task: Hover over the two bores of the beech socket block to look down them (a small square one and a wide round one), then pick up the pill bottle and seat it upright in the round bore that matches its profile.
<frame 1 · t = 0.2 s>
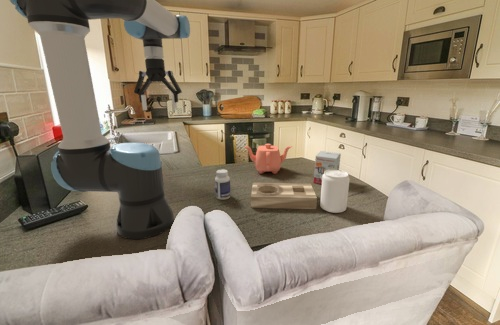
hand: (160, 110, 113), 28 cm above the countertop, fingers open, 13 cm apart
ink box: (325, 181, 105), on the countertop
socket block: (282, 200, 88), on the countertop
beverage can: (332, 208, 82), on the countertop
pill bottle: (223, 197, 91), on the countertop
teapot: (267, 170, 119), on the countertop
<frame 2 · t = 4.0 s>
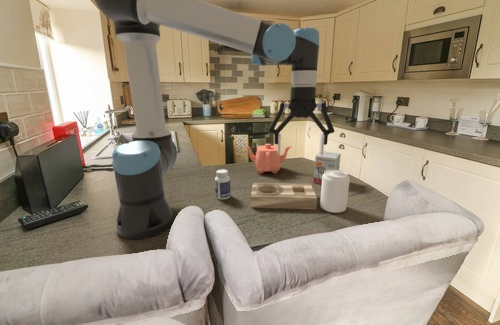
hand: (299, 154, 83), 17 cm above the countertop, fingers open, 13 cm apart
nothing on the countertop moved.
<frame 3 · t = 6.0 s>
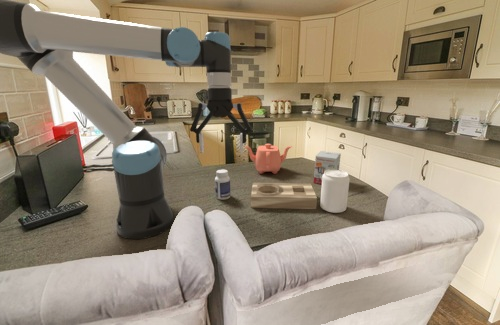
hand: (221, 152, 86), 16 cm above the countertop, fingers open, 13 cm apart
nothing on the countertop moved.
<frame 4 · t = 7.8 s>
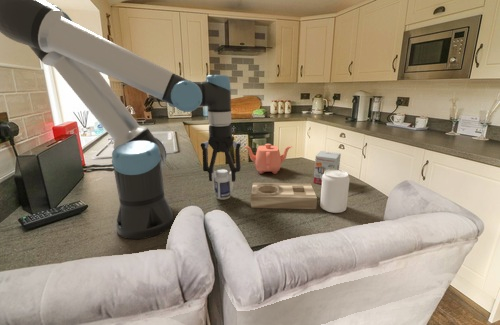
hand: (222, 189, 90), 3 cm above the countertop, fingers closed on pill bottle, 5 cm apart
pill bottle: (223, 197, 91), on the countertop, touching gripper
everything else where it was.
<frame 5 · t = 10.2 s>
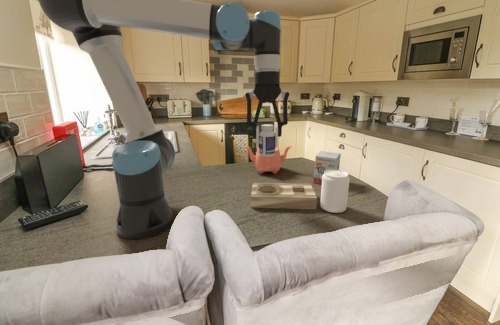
hand: (267, 146, 83), 19 cm above the countertop, fingers closed on pill bottle, 5 cm apart
pill bottle: (267, 155, 84), point 16 cm above the countertop, touching gripper
everything else where it was.
when the fingers open (5 cm above the countertop, at t = 12.5 s): pill bottle drops 2 cm, resting in socket block.
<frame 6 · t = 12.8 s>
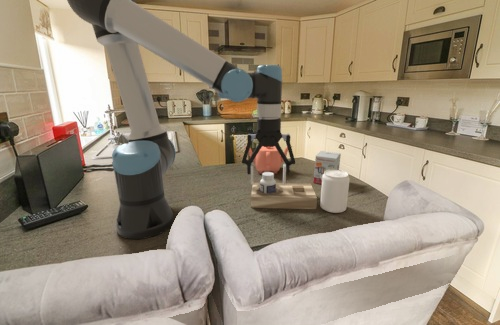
hand: (268, 183, 87), 6 cm above the countertop, fingers open, 10 cm apart
pill bottle: (267, 200, 88), resting in socket block
everything else where it was.
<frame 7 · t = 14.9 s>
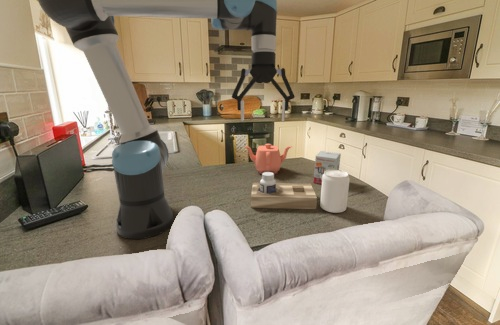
hand: (262, 120, 85), 27 cm above the countertop, fingers open, 13 cm apart
nothing on the countertop moved.
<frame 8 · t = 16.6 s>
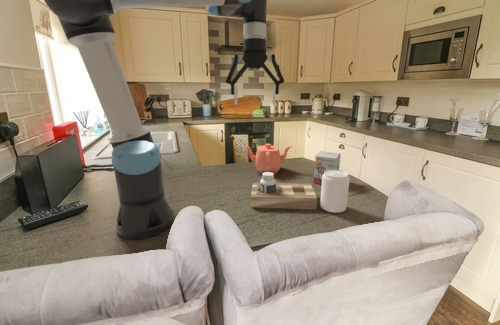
hand: (254, 104, 91), 32 cm above the countertop, fingers open, 13 cm apart
nothing on the countertop moved.
at the end: pill bottle 0.0 cm from the target spot on the socket block, point 0.0 cm above the socket block's base; pill bottle tilted 0°; the gripper is holding nothing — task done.
